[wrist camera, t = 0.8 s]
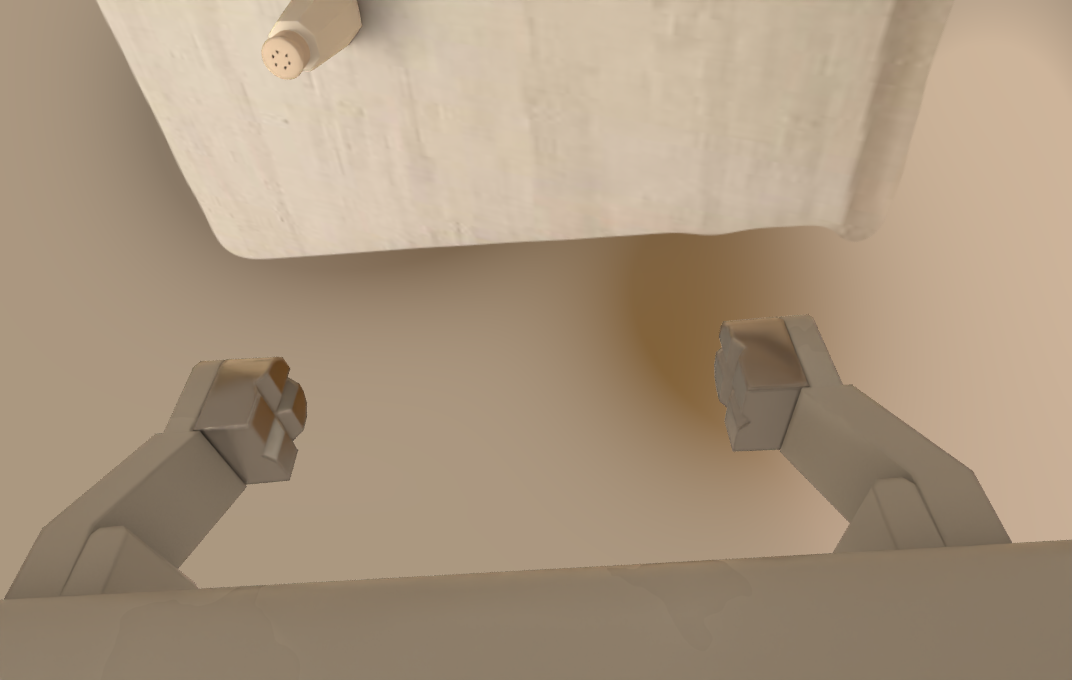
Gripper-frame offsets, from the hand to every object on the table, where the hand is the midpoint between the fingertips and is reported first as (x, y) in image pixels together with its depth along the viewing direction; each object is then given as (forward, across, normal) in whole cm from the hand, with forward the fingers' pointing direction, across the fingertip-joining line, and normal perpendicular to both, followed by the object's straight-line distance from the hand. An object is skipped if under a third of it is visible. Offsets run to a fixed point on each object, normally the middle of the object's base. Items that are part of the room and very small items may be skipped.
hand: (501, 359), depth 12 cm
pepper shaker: (+47, +16, +10) cm, 50 cm away
